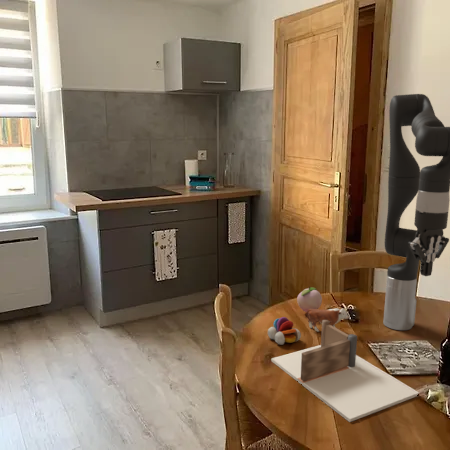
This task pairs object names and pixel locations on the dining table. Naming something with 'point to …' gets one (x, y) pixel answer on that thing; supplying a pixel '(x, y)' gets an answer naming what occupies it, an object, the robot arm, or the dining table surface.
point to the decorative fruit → (309, 299)
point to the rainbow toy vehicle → (283, 331)
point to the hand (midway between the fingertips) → (425, 275)
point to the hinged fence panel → (325, 359)
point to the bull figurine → (325, 316)
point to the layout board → (348, 380)
